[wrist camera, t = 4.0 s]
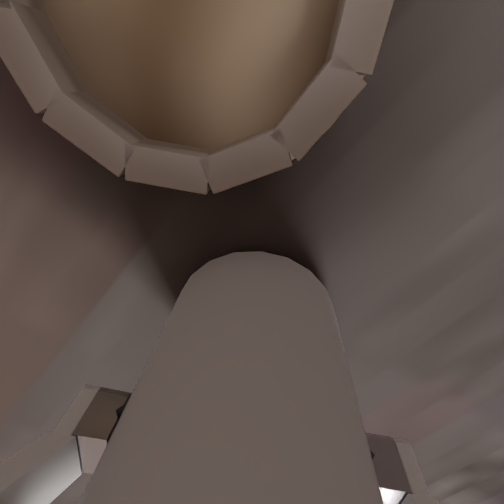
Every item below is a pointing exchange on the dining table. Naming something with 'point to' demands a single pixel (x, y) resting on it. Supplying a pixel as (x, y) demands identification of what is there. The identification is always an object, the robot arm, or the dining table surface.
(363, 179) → the dining table surface
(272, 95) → the beige round shallow dish
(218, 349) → the can
